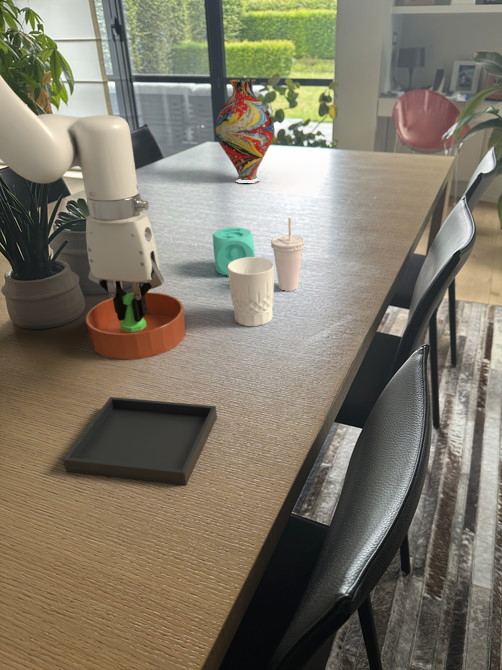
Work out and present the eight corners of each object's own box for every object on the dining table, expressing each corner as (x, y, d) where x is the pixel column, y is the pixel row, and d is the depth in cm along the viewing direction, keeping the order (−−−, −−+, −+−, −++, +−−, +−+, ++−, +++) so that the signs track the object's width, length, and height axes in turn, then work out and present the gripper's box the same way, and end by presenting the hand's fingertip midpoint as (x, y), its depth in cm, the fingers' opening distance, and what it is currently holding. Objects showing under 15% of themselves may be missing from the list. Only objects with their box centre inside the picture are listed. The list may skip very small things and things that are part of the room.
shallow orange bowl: (74, 355, 89) (68, 331, 86) (115, 312, 102) (111, 290, 99) (167, 362, 86) (163, 337, 84) (197, 317, 99) (195, 294, 97)
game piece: (144, 331, 91) (140, 298, 88) (118, 332, 91) (113, 299, 88) (148, 320, 95) (143, 287, 92) (122, 320, 94) (117, 288, 91)
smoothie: (293, 297, 106) (292, 225, 98) (266, 290, 109) (263, 219, 101) (310, 285, 110) (311, 215, 103) (283, 279, 113) (282, 211, 106)
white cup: (268, 305, 103) (266, 254, 97) (281, 324, 96) (280, 270, 91) (227, 312, 101) (222, 260, 95) (237, 331, 94) (234, 277, 89)
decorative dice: (251, 261, 122) (249, 225, 118) (255, 275, 115) (253, 237, 111) (215, 264, 121) (211, 228, 117) (217, 278, 114) (214, 241, 110)
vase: (207, 183, 182) (198, 82, 166) (242, 172, 195) (237, 76, 179) (253, 191, 173) (247, 84, 157) (286, 178, 186) (285, 78, 170)
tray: (66, 471, 65) (62, 459, 64) (112, 407, 76) (110, 396, 75) (186, 485, 63) (184, 473, 62) (217, 417, 74) (215, 406, 73)
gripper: (174, 202, 84) (185, 311, 94) (77, 198, 86) (97, 304, 96) (156, 217, 78) (170, 332, 88) (52, 211, 80) (77, 324, 90)
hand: (132, 316), depth 92 cm, fingers closed on game piece, 2 cm apart
